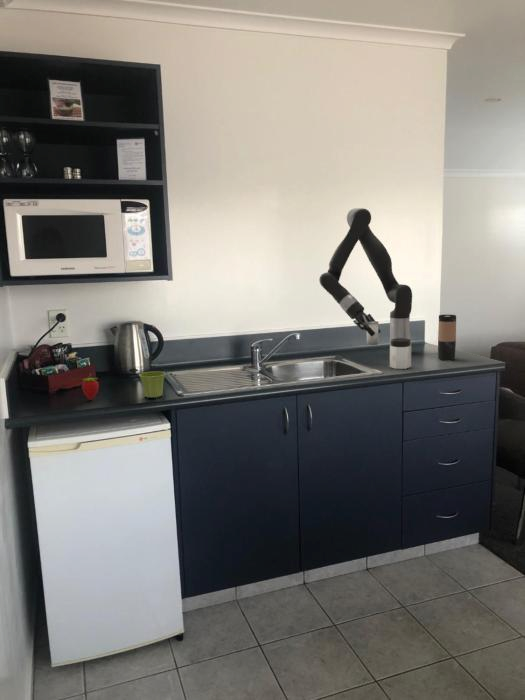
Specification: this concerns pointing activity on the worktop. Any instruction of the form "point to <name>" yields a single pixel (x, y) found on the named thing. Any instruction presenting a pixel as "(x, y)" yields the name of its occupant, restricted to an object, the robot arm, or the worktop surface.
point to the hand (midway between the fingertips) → (376, 333)
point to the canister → (375, 338)
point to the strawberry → (90, 387)
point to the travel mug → (446, 337)
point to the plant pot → (152, 383)
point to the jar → (400, 353)
